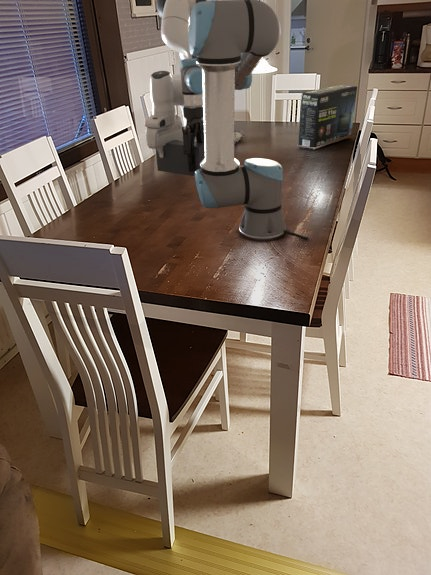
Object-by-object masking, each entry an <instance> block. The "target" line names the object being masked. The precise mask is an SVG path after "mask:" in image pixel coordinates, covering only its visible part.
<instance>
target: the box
mask: <svg viewBox="0 0 431 575" xmlns="http://www.w3.org/2000/svg"><path fill="white" fill-rule="evenodd" d="M162 150H163V152H165V157H163V158H160V156H159V152H158V151H157V149H155V156H156V157H155V158H156V166H157V171H158V172H164V173H171V174H177V175H184V176H190V177H195V172H190V171H189V166H188V155H186V154H184V151H183V140H181V139H179V140H173V141H171V142H168V143H166V145H164V146H163V149H162ZM193 154H194V155H195V166H196V171H197V170H200V163H201V161H202V160H203V159H204V158H205V143H198V142H195V143H194V153H193Z"/></svg>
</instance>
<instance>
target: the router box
mask: <svg viewBox="0 0 431 575" xmlns="http://www.w3.org/2000/svg"><path fill="white" fill-rule="evenodd" d="M357 93H358V86H356V85H350V84H339V85H338V84H337V85H334V86H328V87H324V88H318V89H314V90H309V91H304V92H301V93H300V109H299V110H300V111H299V124H298V137H297V146H298V145H302V146H307V147H317V146H320V145H323V144H325V143H328V142H331V141H333V140H336V139H338V138H341V137H344V136H347V135H351V136H352V133H353V132H352V131H353V125H354V115H355V109H356V99H357ZM311 151H313V150H312V149H311Z"/></svg>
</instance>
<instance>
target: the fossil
mask: <svg viewBox="0 0 431 575" xmlns="http://www.w3.org/2000/svg"><path fill="white" fill-rule="evenodd" d="M245 134H246V133H245V132H244V131H242V130H241V129H235V128H234V145H236V143H235V142H237V143H239V142H240V141H241V140H242V139H243V138H242V136H245V137H246V135H245ZM239 140H240V141H239ZM238 141H239V142H238Z"/></svg>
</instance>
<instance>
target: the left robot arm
mask: <svg viewBox="0 0 431 575" xmlns="http://www.w3.org/2000/svg"><path fill="white" fill-rule="evenodd" d="M204 1H211V0H157V2H156V9H157V13H158V16H159V18H160V19H161V22H160V23H161V25H160V36H161V40H162V42H163V43H164V44H165V45H166V46H167V47H168V48H169V49H170V50H172V51H174V52H177V53H178V54H179V58H180V61H181V60H183V59H191V58H196V56H193V55H191V54H190V51H189V23H190V16H191V12H192V9H193V7H194V6H195V4H197V3H199V2H204ZM149 78H150V79H149V92H150V100H151V104H152V108H151V113H152V114H150V116H149V117H148V118H147V119H146V120H145V121H144V127H145V128H146V129H145V139H146V140H145V141H146V145H147V147H148V148H149V149H153V150H156V149H157V151H158V152H159V156H160V158H163V157H165V152H163V150H162V149H163V146H164V145H166V143H168V142H171V141H173V140H183V132H182V127H185V126H186V123H187V119H186V118H184V113H183V108H184V107H185V106H184V105H183V95H182V82H181V72H177V73H174V74H171V72H170V71H167V70H158V71H155V72H153V73H152V74H150V77H149ZM176 106H177V107H179V109H180V110H181V113H182V119H183V121H182V119H181V116H180V115H179V114H177V113H176V112H177V111H176ZM202 120H204V117H203V118H202ZM202 127H203V126H202ZM190 134H193V133H190ZM195 142H197V140H196V136H195Z"/></svg>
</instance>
